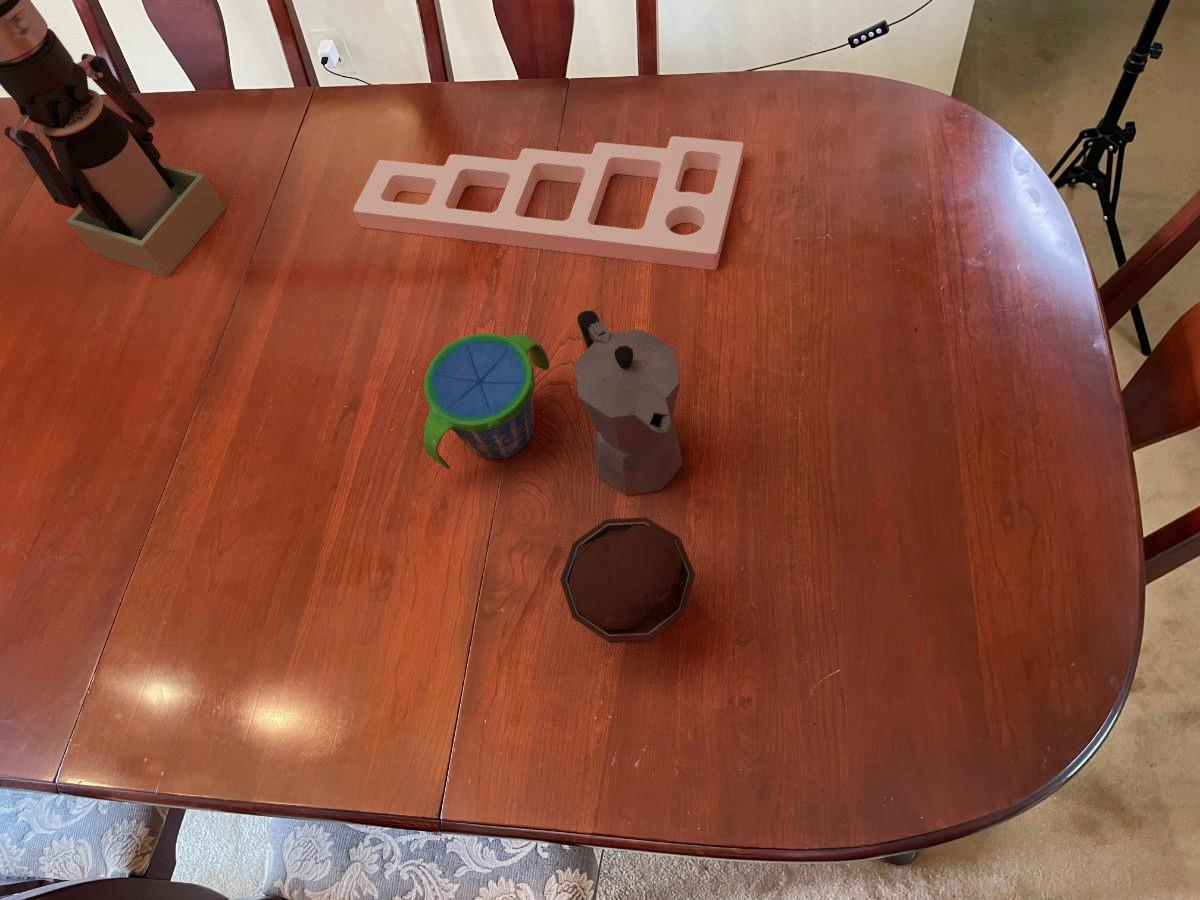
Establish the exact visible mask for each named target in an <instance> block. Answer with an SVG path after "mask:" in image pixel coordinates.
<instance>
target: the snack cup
mask: <svg viewBox="0 0 1200 900" xmlns="http://www.w3.org/2000/svg"><path fill="white" fill-rule="evenodd" d="M528 354H529V356H528ZM531 361H532V362H531ZM533 364H534V366H536V367H537V368H539V369H541V370H543V371H548V370H549V369H550V365H551V364H550V359H549V357H548V353H547V352H546V350H545V349H544V347H543V346H542V345H541V344H540V343H539V342H537V341H536V340H534V339H533V338H531V337H530V336H527V335H525V334H521V333H518V334H517V333H516V334H511V335H507V336H504V335H501V334H497V333H490V332H482V333H474V334H469V335H466V336H463V337H461V338H459V339H456V340H454V341H452V342H450V343H449V344H447V345H446V346H445V347H443V348H442V349H441V350H440V351H439V352H438V353H437V354H436V356H435V357H434V358H432V360H431V362H430V364H429V366H428V368H427V370H426V372H425V375H424V384H423V386H424V387H423V388H424V394H425V398H426V401H427V404H428V406H429V411H428V414H427V418H426V421H425V423H424V431H423V445H424V449H425V452H426V454H427V455H428V456H429V457H430V458H432V459H433V460H434V461H435V462H437V463H438V464H439V465H441V466H442V467H444V468H446V469H447V470H450V469H451V466H450V465H449V464H448V463H447V461H445V460H444V458H443V457H442V456H441V455H440V453H439V451H438V448H439V446H440V444H441V441H442V439H443V437H444V435H445V434H447V432H449V431H450V430H451V431H452V432H453V433H455V434H456V435H457V436H458V438H459V439H460V440H461V442H463V443H464V444H465V446H466V447H467V448H468V449H469V450H471V451H472V452H473V453H474V454H475V455H477V456H481V457H484V458H488V459H494V460H497V459H502V458H503V459H506V458H507V459H509V458H510V457H513V456H514V455H515V454H517V453H518V452H519V451H520V450H522V449H524V447H525V446H526V445H527V444H528V442H529V441H530V439H531V437H532V436H533V435H534V429H535V407H534V400H533V399H534V391H535V387H536V382H535V372H534V367H533Z"/></svg>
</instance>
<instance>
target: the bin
mask: <svg viewBox="0 0 1200 900" xmlns="http://www.w3.org/2000/svg"><path fill="white" fill-rule="evenodd" d="M158 162H159V163H160V164H161V166H162V167H163V169H164V170H165V171H166V173H167V174H168V176H169V177H170V178H171V180H172V181H173V183H174V184H175V186H174V187H173V188H172V189H171V191H172V192H173V193H174V195H175V196H176V198H177V200H176V202H175V203H174V204H173V205H172V206H171V207H170V208H169V209H168V211H167V212H166V213H165V214H164V215H163V216H162V217H161V219H160V220H159V221H158V222H157V223H156V224H155V225H154V227H153V228H152V229H151V230H150V231H149V232H148V233H147V234H146V236H145V237H144V238H143V239H142V240H138V239H135V238H132V237H128V236H125V235H122V234H119V233H116V232H113V231H111V230H110V229H109V228H108V227H107V226H106V224H105V223H104V222H102V221H98V220H95V219H93V218H91V217H90V216H89V215H88V214H87V213H86V212H85V211H84V209H83V208H82V207H81V206H80V205H79V206H78V207H77V208H76V209H77V210H76V211H74V212H73V214H71V215H70V217H69V218H68V219H67V220H66V224H68V226H69V227H70V228H71V229H72V230H73V231H74V233H76V235H77V236H78V237H79V239H81V240H82V241H83V242H84V243H85V245H86V246H87V247H88V248H89V249H90V250H91V251H92V252H93V254H95V255H99V256H101V257H105V258H107V259H111V260H114V261H116V262H120V263H123V264H125V265H129V266H131V267H135V268H138V269H142V270H144V271H147V272H149V273H153V274H156V275H158V276H159V275H160V276H162V277H165V278H169V277H170V276H171V275H172V274H173V272H174V271H175V270H176V269H177V268H178V266H179V265H180V264H181V263H182V262H183V260H185V258H186V257H187V255H188V254H189V253H190V252H191V251H192V249H193V248H195V246H196V245H197V244H198V243H199V242H200V240H201V239H202V238H203V236H205V234H206V233H207V232H208V231H209V230H210V228H211V227H212V226H213V225H214V223H216V221H217V220H218V219H219V217H221V215H222V214H223V213H224V212H225V210H226V209H227V207H226V205H225V204H224V202H223V200H222V199H221V198H220V196H219V195H218V193H217V192H216V190H215V189H214V187H213V186H212V184H211V183H210V181H209V180H208V178H207V176H206V175H205V174H203V173H200V172H196V171H193V170H189V169H185V168H181V167H178V166H174V165H170V164H167V163H165V162H160V161H158Z"/></svg>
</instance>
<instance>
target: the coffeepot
mask: <svg viewBox="0 0 1200 900" xmlns="http://www.w3.org/2000/svg"><path fill="white" fill-rule="evenodd" d="M576 321H577V323H578V326H579V329H580V332H581V334H582V337H583V339H584V342H585V346H586V350H585V351H584V352H583V353H582V355H580V357H578V358H577V360H575V362H574V369H575V377H576V388H577V398H578V399H579V401H580V403H581V405H582V407H583V408H584V411H585V412H586V414H587V416H588V418H589V420H590V422H591V423H592V425H593V427H594V429H595V434H594V435H595V436H594V445H593V446H594V455H595V465H596V475H597V477H598V478H600V479H601V480H602V481H604V482H605V483H606V484H608V485H609V486H610V487H611V488H613V489H615V490H616V491H619V492H620V493H622V494H623V495H625V496H630V495H631V496H632V495H645V494H649V493H654V492H659V491H662V490H663V489H664V488H665V487H666V485H668V484H669V482H670V481H672V479H673V478H674V477H675V476H676V473H677V472H678V471H679V470H680V469H681V468H682V467H683V465H684V464H683V463H684V462H683V456H682V452H681V446H680V445H681V444H680V439H679V434H678V431H677V429H676V426H675V423H674V421H673V417H674V416H673V415H674V411H675V407H676V403H677V398H678V394H679V390H680V384H681V382H680V381H681V380H680V376H679V370H678V365H677V358H676V353H675V352H676V351H675V348H674V347H673V346H670V345H669V344H667V343H665V342H664V341H662V340H660V339H658V338H657V337H655V336H653V335H652V334H650V333H648V332H646V331H645V330H644V329H635V330H628V331H627V330H626V331H620V332H614V333H611V332H610V330H609V329H608V327H607V326H606V324H605V323H604V322H603V320H601V321H600V319H599V316H598V314H597V313H596V312H595V311H594V310H583V311H581V312H580V313H578V315H577V319H576Z"/></svg>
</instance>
